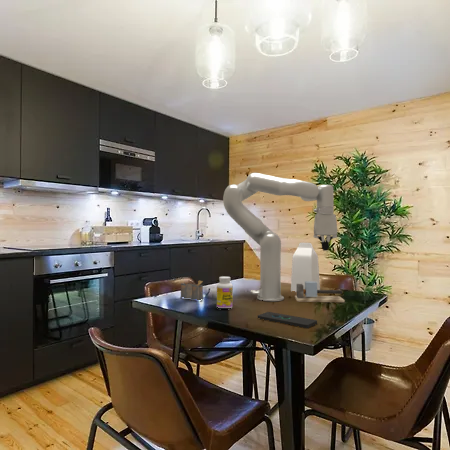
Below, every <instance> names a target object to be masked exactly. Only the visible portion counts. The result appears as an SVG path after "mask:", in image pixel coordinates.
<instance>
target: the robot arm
mask: <svg viewBox="0 0 450 450" xmlns="http://www.w3.org/2000/svg"><path fill="white" fill-rule="evenodd" d="M258 192H259V193H265V194H270V195H274V196H293V197H296V198H297V197H298V198H300V199H301V200H302V201H304V202H313V201H316V208H314V209H313V212H314V213H316V214H315V215H314V222H313V238H315V239H317V240H319V241H320V242H321V249H322V251H324V252H326V251H327V252H328V250H329V249H330V242H331V241H332V240H333V239H337V238H338V235H337V234H338V221H337V215H336V214H335V213H334V186H333V185H331V184H322V185H318V186H317V184H315V183H313V182H309V181H304V180H301V179H294V178H293V179H292V178H288V177H287V178H286V177H279V176H274V175H271V174H270V175H269V174H265V173H259V172H251V173H250V174H248V176H247V177H246V179H245V180H243V181H242V182H240V183H238V184H235V183H234V184H233V183H232V184H229V185H228V186H227V187H226V188H225V190H224V192H223V198H222V202H223V203H222V204H223V207H224V210H225V212H226V213H227V215H229V217H230V218H231V219H232V220H233V221H235V223H236V224H237V225H238V226H239V227H240V228H241V229H242V230H243V231H244V232H245V234H247V235H248V236H249V237H250V238H251V239H252V240H253V241H254V242H255V243H256V244H258V245H259V249H260V250H259V251H260V254H259V255H260V261H259V263H260V264H259V265H260V267H259V268H260V273H259V275H260V277H259V278H260V279H259V281H260V288H259V289H256V290H255V289H251V290H250V295H257V296H256V299H257V300H260V301H262V300H263V301H264V302H281V301H284V300H285V297H284V296H283V295H282V294H281V293H282V291H281V290H282V289H281V276H282V275H281V273H282V271H281V268H282V267H281V265H282V264H281V263H282V261H281V257H282V256H281V254H282V253H281V252H282V241H281V238H280V235H278V234H277V233H275V232H273V230H272V229H270V227H268V226H267V225H266V224H265V223H264V222H263V221H262V220H261V218H259V217H257V216H256V215H255V214H253V212H251V211H250V209H248V208H247V207H246V206H245V204H244V203H243V201H245V200H247V199H248V198H251V197H252V196H253V195H255V194H257V193H258ZM325 236H326V237H325ZM263 301H262V302H263Z"/></svg>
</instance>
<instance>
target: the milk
mask: <svg viewBox="0 0 450 450" xmlns="http://www.w3.org/2000/svg"><path fill="white" fill-rule="evenodd" d="M313 246H314V245H313V244H312V243H311V242H299V244H298V246H297V247H296V250H295V251H294V253H293V255H292V260H291V261H292V263H291V277H290V278H291V279H290V292H292V291H295V293H297V284H302V285H303V289H305V281H316V282H317V290H321V286H320V284H321V283H320V266H319V255H318V253H317V252H316V250H315V248H314V247H313Z"/></svg>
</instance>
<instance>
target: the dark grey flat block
mask: <svg viewBox="0 0 450 450" xmlns="http://www.w3.org/2000/svg"><path fill="white" fill-rule="evenodd" d="M258 318H260V319H259V320H261V319H264V320H263V321H266V320H269V321H268V322H271V321H275V322H274V323H276V322H280V323H279V324H281V323H285V324H284V325H286V324H290V325H289V326H292V325H294V326H293V327H297V326H299V327H298V328H302V327H303V329H310V328H312V327H314V326H316V325H317V324H318V320H317V319H311V318H306V317H301V316H295V315H290V314H283V313H278V312H272V311H266V312H263V313H261V314H258V315H257V319H258ZM315 324H316V325H315ZM311 326H312V327H311ZM309 327H310V328H309Z"/></svg>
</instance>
